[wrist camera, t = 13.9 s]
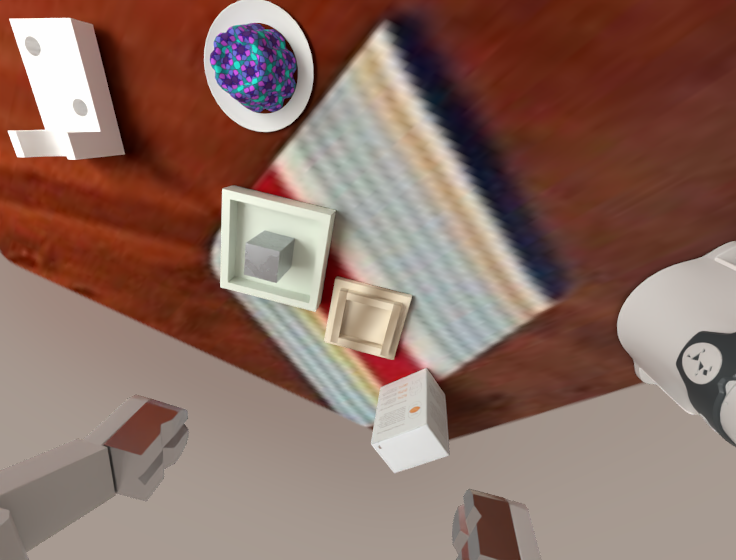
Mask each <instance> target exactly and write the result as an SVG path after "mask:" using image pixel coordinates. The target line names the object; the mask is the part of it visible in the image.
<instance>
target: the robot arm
mask: <svg viewBox="0 0 736 560" xmlns="http://www.w3.org/2000/svg"><path fill="white" fill-rule="evenodd" d="M617 332H618V337H619V340H620V342H621V344H622V346H623V347H624V349H625V350H626V351H627V352H628V354H629V355H630V356H631V357H632V359H633V360H634V367H635V372H636V375H637V376H638V377H639V378H640V379H641V380H642V381H643V382H644V383H647V384H655V385H658V386H659V387H660V388H661V389H662V390H663V391H664V392H665V393H666V394H667V395H669V396H670V397H671V398H672V399H673V400H674V401H675V402H676V403H677V404H678V405H679V406H680V407H681V408H682V409H683V410H685V411H686V412H688V413H689V414H691V415H695V414H697V415H700V416H701V417H702V418H703V420H704V421H705V422H706V423H707V424H708V425H709V426H710V427H711V428H712V429H713V430H714V431H715V432H717V433H718V434H719V435H721V436H722V437H723V438H724V439H725V440H726V441H727V442H729V443H730V444H732V445H733V446H735V447H736V241H732V242H729V243H726V244H724V245H722V246H720V247H718V248H716V249H715V250H713V251H711V252H710V253H708V254H706V255H705V256H703V257H700V258H697V259H694V260H690V261H686V262H682V263H679V264H675V265H673V266H670V267H668V268H665V269H663V270H661V271H659V272H657V273H655V274H654V275H652V276H651V277H649V278H648V279H646V280H645V281H644V282H642V283H641V284H640V285H639V286H638V287H637V288H636V289H635V290H634V291H633V292H632V293H631V294H630V295H629V297H628V298H627V299H626V301H625V303H624V304H623V306H622V308H621V311H620V313H619V317H618V322H617ZM187 419H188V411H187V410H186V409H183V408H179V407H176V406H173V405H170V404H166V403H163V402H160V401H156V400H154V399H150V398H146V397H143V396H140V395H134V396H132V397H129V398H128V399H127V400H126V401H125V402H124V403H123V404H121V406H119V407H118V408H117V409H116V410H115V411H114V412H113V413H112V414H111V415H109V416H108V417H107V418H106V419H105V420H104V421H103V422H102V423H101V424H100V425H99V426H98V427H96V428H95V429H94V430H93V431H92V432H91V433H90V434H89V435H88V436H87V437H86V438H84V439H83V440H82V439H75V440H73V441H70V442H68V443H66V444H63V445H61V446H59V447H56V448H53V449H51V450H48V451H46V452H44V453H41V454H39V455H36V456H34V457H32V458H29V459H26V460H24V461H22V462H19V463H17V464H15V465H12V466H9V467H7V468H5V469H2V470H0V560H29V558H28V556H27V554H26V552H28V551H29V550H31V549H32V548H34V547H35V546H37V545H39V544H40V543H42V542H43V541H45V540H46V539H48V538H50V537H51V536H53V535H54V534H56V533H57V532H59V531H61V530H62V529H64V528H65V527H67V526H69V525H70V524H72V523H73V522H75V521H76V520H78V519H80V518H81V517H83V516H84V515H86V514H87V513H89V512H90V511H92V510H94V509H95V508H97V507H98V506H100V505H101V504H103V503H105V502H106V501H108V500H109V499H111V498H112V497H114V496H115V495H116V494H115V493H117V494H120V495H124V496H128V497H132V498H135V499H139V500H143V501H147V500H148V499H149V498H150V496H151V495H152V494H153V492H154V491H155V490H156V488H157V487H158V486H159V484H160V483H161V482H162V480H163V479H164V469H166V468H167V467H169V466H171V465H173V464H175V463H176V461H177V460H178V458H179V457H180V456H181V454H182V452H183V450H184V448H185V446H186V444H187V440H188V428H187V427H186V426H185V424H184V423H185V422H186V420H187ZM463 497H464V504H463V505H460V506H458V508H457V510H456V513H455V515H454V520H453V529H452V538H453V539H452V540H453V546H454V548H455V549H456V551H457V553H458V557H457V559H456V560H541V556H540V552H539V548H538V545H537V541H536V537H535V533H534V530H533V526H532V522H531V518H530V515H529V511H528V508H527V507H526V505H525V504H522V503H519V502H515V501H511V500H508V499H505V498H503V497H499V496H495V495H491V494H488V493H484V492H480V491H476V490H472V489H468V490H467V491H466V493H465V494H464V496H463Z"/></svg>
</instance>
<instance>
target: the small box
mask: <svg viewBox="0 0 736 560" xmlns="http://www.w3.org/2000/svg"><path fill="white" fill-rule="evenodd" d="M371 445H372V446H373V447H374V449H375V450H376V451H377V452H378V454H379V455H380V456H381V457H382V459H383V460H384V461H385V462H386V463H387V465H388V466H389V467H390V468H391V470H392V471H393V472H394V473H397V472H400V471H403V470H406V469H409V468H412V467H415V466H418V465H421V464H425V463H427V462H431V461H433V460H437V459H440V458H443V457H446V456H449V455H450V453H449V439H448V424H447V411H446V398H445V394H444V392H443V391H442V389H441V388H440V386H439V385H438V384H437V382H436V381H435V379H434V378H433V376H432V375H431V373H430V372H429V371H428V369H427V368H425V369H423V370H420V371H418V372H416V373H413V374H411V375H409V376H406V377H404V378H402V379H399V380H397V381H395V382H392V383H390V384H388V385H385V386H383V387H381V388H380V393H379V399H378V405H377V411H376V416H375V422H374V428H373V434H372V440H371Z"/></svg>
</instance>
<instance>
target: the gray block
mask: <svg viewBox="0 0 736 560" xmlns="http://www.w3.org/2000/svg"><path fill="white" fill-rule="evenodd" d="M294 242H295V238H292V237H288V236H284V235H280V234H276V233H273V232H269V231H265V230H264V231H263V232H261V233H260V234H258V235H257V236H255V237H254V238H252V239H251V240H249V241H248V242H246V247H245V263H244V275H248V276H251V277H255V278H259V279H263V280H267V281H270V282H274V283H277V282H278V281H279V280H280V279H281V278H282V277H283V276H284V274H285V273H286V272H287V271H288V270H289V269H290V268H291V266H292V258H293V250H294Z"/></svg>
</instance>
